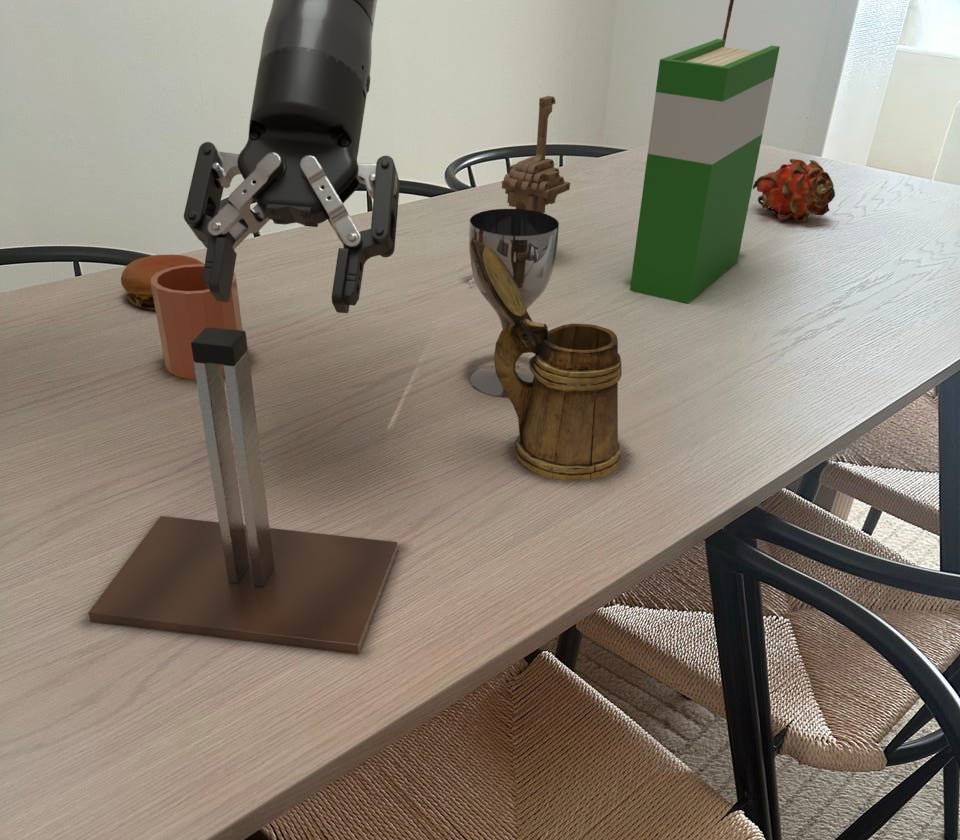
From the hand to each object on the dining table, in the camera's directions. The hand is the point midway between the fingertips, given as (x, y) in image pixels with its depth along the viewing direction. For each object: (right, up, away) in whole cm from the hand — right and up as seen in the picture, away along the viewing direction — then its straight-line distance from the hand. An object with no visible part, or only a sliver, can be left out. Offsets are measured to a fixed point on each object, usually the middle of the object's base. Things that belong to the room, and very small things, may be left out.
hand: (279, 302), depth 67 cm
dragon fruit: (+58, +38, +75) cm, 102 cm away
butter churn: (+48, +50, +90) cm, 114 cm away
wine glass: (+16, +2, +30) cm, 34 cm away
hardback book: (+39, +22, +55) cm, 71 cm away
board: (-2, -20, +2) cm, 20 cm away
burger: (-21, +14, +43) cm, 49 cm away
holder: (-13, +3, +29) cm, 32 cm away
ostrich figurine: (+17, +23, +55) cm, 62 cm away
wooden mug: (+19, -8, +18) cm, 27 cm away
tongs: (-2, -19, +1) cm, 19 cm away
